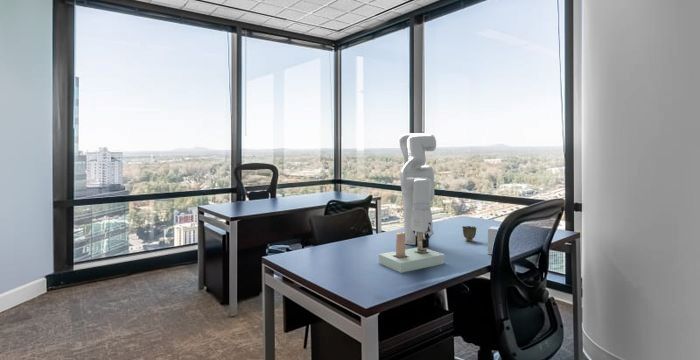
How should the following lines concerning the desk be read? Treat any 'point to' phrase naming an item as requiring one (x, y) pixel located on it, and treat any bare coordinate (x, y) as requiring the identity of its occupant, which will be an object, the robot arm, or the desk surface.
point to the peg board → (411, 260)
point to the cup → (469, 233)
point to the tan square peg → (400, 245)
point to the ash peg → (420, 249)
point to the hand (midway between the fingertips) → (422, 246)
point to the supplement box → (491, 237)
